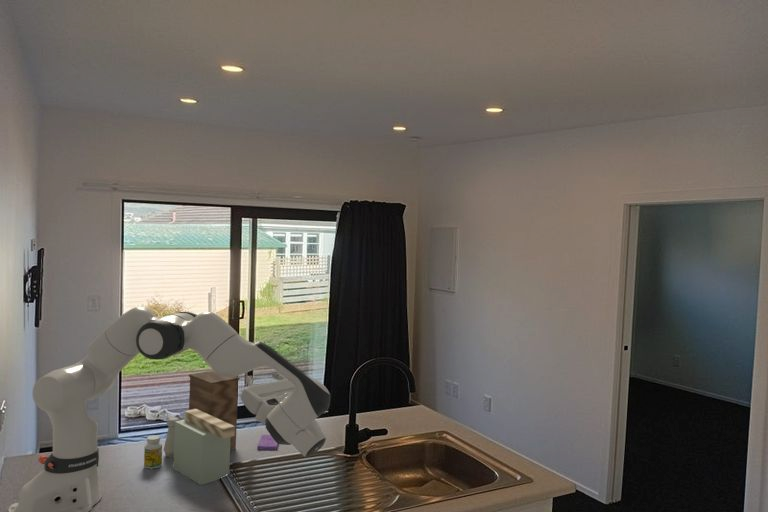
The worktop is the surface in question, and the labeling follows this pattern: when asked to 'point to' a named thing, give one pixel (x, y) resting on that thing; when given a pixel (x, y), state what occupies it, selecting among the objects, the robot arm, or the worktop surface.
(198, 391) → the walnut block
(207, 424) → the beech bar
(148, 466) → the supplement bottle
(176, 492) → the worktop surface
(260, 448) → the sponges
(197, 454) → the pale green block
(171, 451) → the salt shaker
